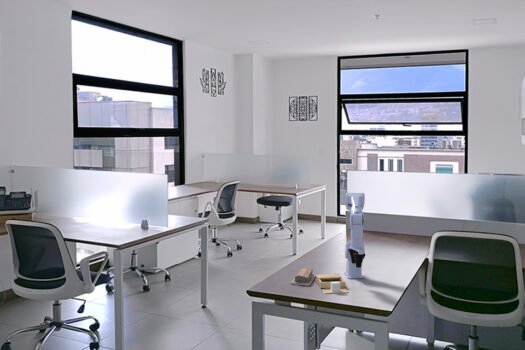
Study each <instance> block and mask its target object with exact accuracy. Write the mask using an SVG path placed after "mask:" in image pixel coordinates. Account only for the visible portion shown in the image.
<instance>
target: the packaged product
mask: <svg viewBox="0 0 525 350" xmlns="http://www.w3.org/2000/svg"><path fill="white" fill-rule="evenodd" d="M313 270H314V269H313V268H311V267H301V268H299V270H298V271H297V272H296V274H295V276H294V277H293V278H292V279H291V281H290V285H292V286H294V285H295V286H306V287H307V286H309V287H310V286H311V285H312V283H313V281H314V280H315V279H316V275H317V274H315V273H314V271H313Z"/></svg>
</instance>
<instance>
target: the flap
mask: <svg viewBox="0 0 525 350" xmlns="http://www.w3.org/2000/svg"><path fill="white" fill-rule="evenodd" d="M322 290H323V291H322ZM321 291H322V292H323V294H325V293H333V294H350V291H348V289H347V288H346V287H345V288H340V282H339V281H337V282H331V288H329V289H321Z"/></svg>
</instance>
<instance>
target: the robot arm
mask: <svg viewBox="0 0 525 350" xmlns="http://www.w3.org/2000/svg"><path fill="white" fill-rule="evenodd" d="M365 201H366V200H365V193H364V192H346V193H345V208H346V210H347V211H349V214H350V215H349V224H350V240H349V241H348V242H347V243H346V244H345V248H344V249H345V250H344V252H345V254H344V255H345V259H346V262H345V263H346V265H345V272H344V275H345V276H346V277H347V278H349V279H350V280H351V279H365V276H364V275H363V274H362V271H363V270H362V269H363V268H362V266H363V262H364V259H365V257H366V256H367V255H366V253H365V252H366V250H365V244H364V243H363V241H364V239H363V238H364V224H365V214H364V212H363V210H364V207H365Z"/></svg>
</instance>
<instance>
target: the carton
mask: <svg viewBox="0 0 525 350" xmlns="http://www.w3.org/2000/svg"><path fill="white" fill-rule="evenodd" d="M337 281H339V282H340V289H343V288H346V281H345V280H344V279H343V277H342V275H341V274H340V273H328V274H327V273H325V274H316V276H315V282H316V284H317V285H318V287H319V289H321V288H329V289H331V282H337Z"/></svg>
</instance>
